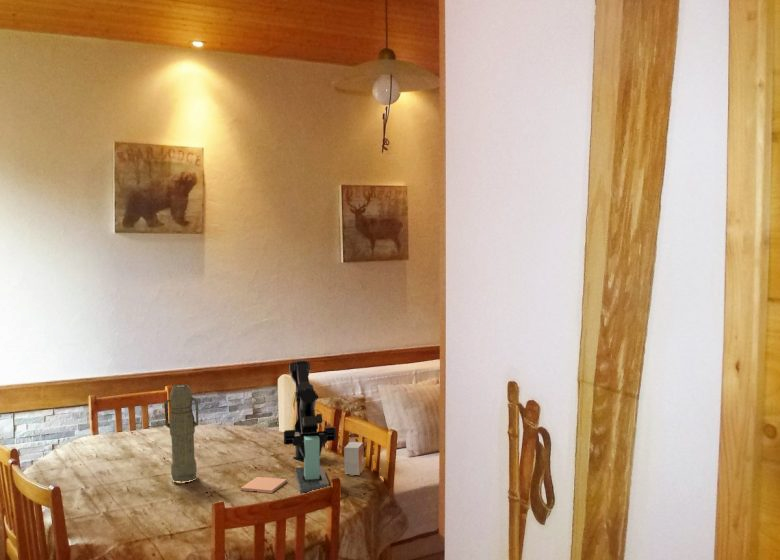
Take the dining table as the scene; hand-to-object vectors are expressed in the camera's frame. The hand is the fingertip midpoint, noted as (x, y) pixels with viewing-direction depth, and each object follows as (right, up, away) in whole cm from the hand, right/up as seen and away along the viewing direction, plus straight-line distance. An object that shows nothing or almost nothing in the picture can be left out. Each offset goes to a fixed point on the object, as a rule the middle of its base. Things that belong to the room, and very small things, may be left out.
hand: (312, 456), depth 248 cm
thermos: (-49, -12, +12) cm, 51 cm away
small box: (+14, -10, +15) cm, 23 cm away
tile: (-17, -11, +2) cm, 21 cm away
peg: (0, -8, +2) cm, 8 cm away
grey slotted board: (-1, -11, +5) cm, 12 cm away
